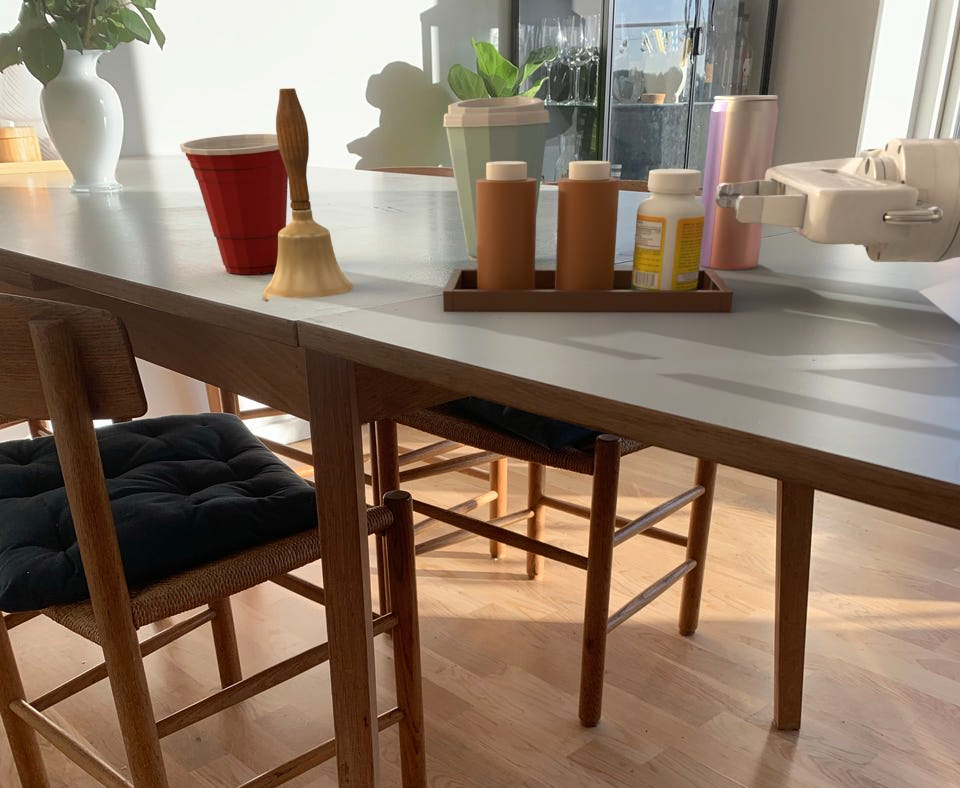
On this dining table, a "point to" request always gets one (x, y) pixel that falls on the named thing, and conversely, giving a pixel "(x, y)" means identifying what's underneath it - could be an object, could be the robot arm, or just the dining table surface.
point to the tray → (586, 296)
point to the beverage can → (735, 176)
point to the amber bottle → (586, 227)
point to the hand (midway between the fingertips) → (726, 201)
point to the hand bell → (301, 219)
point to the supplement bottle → (669, 232)
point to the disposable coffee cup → (492, 146)
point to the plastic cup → (242, 197)
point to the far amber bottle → (506, 227)
